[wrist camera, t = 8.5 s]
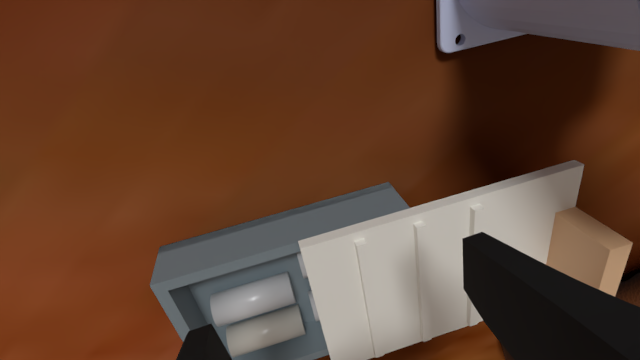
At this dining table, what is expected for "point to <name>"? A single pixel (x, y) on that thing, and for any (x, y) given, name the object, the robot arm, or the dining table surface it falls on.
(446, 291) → the lid
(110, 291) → the dining table surface
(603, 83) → the dining table surface
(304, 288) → the tub
